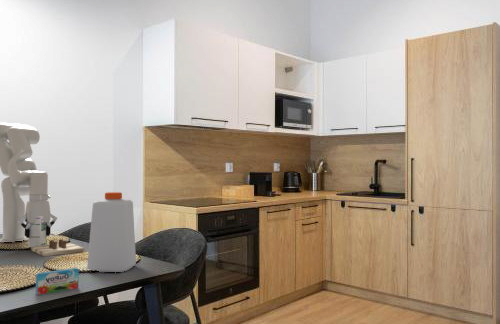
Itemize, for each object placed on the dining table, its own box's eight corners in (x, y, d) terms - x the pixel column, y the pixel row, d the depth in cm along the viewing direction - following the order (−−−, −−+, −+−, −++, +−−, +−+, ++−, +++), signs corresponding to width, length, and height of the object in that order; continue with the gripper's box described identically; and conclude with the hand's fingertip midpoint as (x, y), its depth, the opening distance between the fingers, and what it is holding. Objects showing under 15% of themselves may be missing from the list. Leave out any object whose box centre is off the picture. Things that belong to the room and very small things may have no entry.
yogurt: (37, 295, 130) (37, 274, 130) (35, 294, 131) (35, 273, 131) (78, 288, 138) (78, 268, 138) (76, 287, 139) (76, 267, 139)
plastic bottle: (139, 264, 172) (140, 191, 172) (124, 274, 156) (125, 194, 157) (101, 263, 173) (102, 191, 173) (82, 272, 158) (84, 193, 158)
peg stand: (31, 250, 197) (31, 239, 197) (70, 246, 208) (70, 236, 208) (43, 256, 184) (43, 245, 184) (84, 251, 196) (84, 241, 196)
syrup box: (40, 248, 202) (41, 216, 202) (27, 247, 202) (28, 215, 202) (46, 246, 208) (47, 214, 208) (34, 245, 208) (34, 214, 208)
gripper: (55, 197, 214) (54, 233, 213) (15, 198, 202) (14, 237, 202) (60, 198, 208) (60, 235, 208) (20, 199, 196) (19, 239, 196)
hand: (37, 236), depth 205 cm, fingers closed on syrup box, 8 cm apart
